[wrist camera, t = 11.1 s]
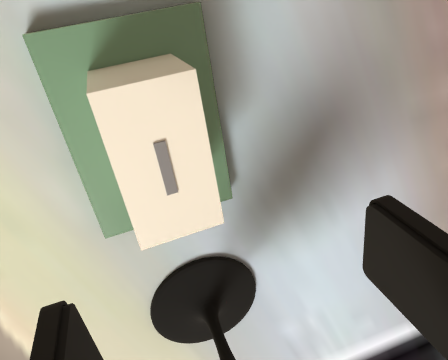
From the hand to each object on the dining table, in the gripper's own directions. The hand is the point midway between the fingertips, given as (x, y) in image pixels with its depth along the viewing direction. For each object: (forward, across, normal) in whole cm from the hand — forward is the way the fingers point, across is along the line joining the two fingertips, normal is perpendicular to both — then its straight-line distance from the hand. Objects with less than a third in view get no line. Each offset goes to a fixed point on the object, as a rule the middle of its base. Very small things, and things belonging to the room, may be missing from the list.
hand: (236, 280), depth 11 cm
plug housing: (+15, +1, 0) cm, 15 cm away
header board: (+16, +1, 0) cm, 16 cm away
